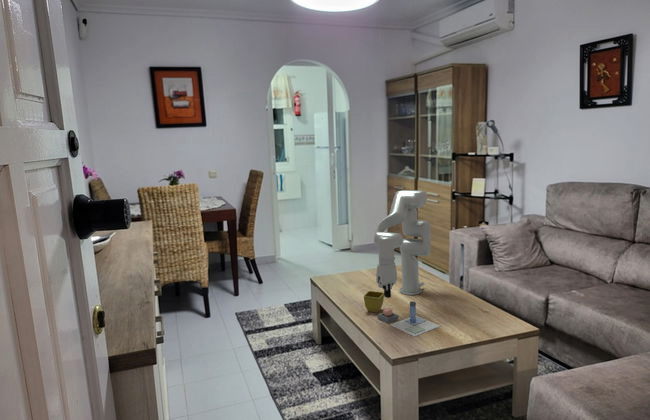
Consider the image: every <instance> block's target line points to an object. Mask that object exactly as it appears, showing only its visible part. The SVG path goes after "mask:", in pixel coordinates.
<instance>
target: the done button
mask: <svg viewBox="0 0 650 420" xmlns="http://www.w3.org/2000/svg"><path fill="white" fill-rule="evenodd" d="M383 313H384V316H388V317H389V316H392V315H393V313H394V311H393V309H392V308H391V307H385V308H383Z"/></svg>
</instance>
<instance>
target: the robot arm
mask: <svg viewBox="0 0 650 420" xmlns="http://www.w3.org/2000/svg"><path fill="white" fill-rule="evenodd" d="M427 199H428V196H427V193H426V191H424V190H420V189H419V190H415V189H414V190H413V189H412V190H411V189H409V190H408V189H407V190H403V189H402V190H398V191H396V192H395V194H394V196H393V200H392V202H391V203H392V204H391V208H390V210H389V214H387V216H385V217H384V218H383V219H382V220H381V221H379V222H378V224H377V226H376V229H375V232H374V236H373V242H374V245H375V246H376V247H378V264H377V265H376V266H377V267H376V276H375V278H376V279H375V280H376V281H375V282H376V284H377V285H378V286H377V288H381V289H383V293H384V298H387V299H390V298H391V297H392V293H391V292H392V289H393V286H394V285H396V284H397V280H398V272H397V266H396V265H397V264H396V263H395V260H396V257H395V249H399V251H400V256H401V257H400V258H401V285H402V286H401V287H400V288H399V293H401V294H402V295H405V296H416V295H419V294H421V293H422V288H421V287H423V286H425V283H424V282H423V281H422V282H420V281H419V280H420V278H419V260H418V259H417V256H418V257H428V256H430V255H431V252H432V251H431V250H432V227H431V223H430V222H429V221H428V220H426V219H423V220H422V219H418V210H417V209H421V208H422V207H424V206H425V205H426V203H427ZM399 224H401V230H402V234H401V233H398V232H386V230H387V229H389V228H392V227H395V226H397V225H399ZM403 235H404V236H406V237H411V238H403ZM412 237H414V238H412ZM415 237H416V238H415ZM417 237H419V238H417Z"/></svg>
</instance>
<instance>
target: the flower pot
mask: <svg viewBox="0 0 650 420" xmlns="http://www.w3.org/2000/svg"><path fill="white" fill-rule="evenodd" d="M384 300H385V297H384V291H383V292H382V291H374V290H368V291H367V292H366V293H365V294H363V301H364V306H365V308H366V310H367V311H368V312H372V313H379V311H380V310H381V308H382V306H383V305H384V304H383V303H384Z"/></svg>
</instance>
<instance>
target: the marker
mask: <svg viewBox="0 0 650 420" xmlns="http://www.w3.org/2000/svg"><path fill="white" fill-rule="evenodd" d="M416 316H417V302H416V301H413V300H412V301H410V302H409V318H410V323H416Z"/></svg>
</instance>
